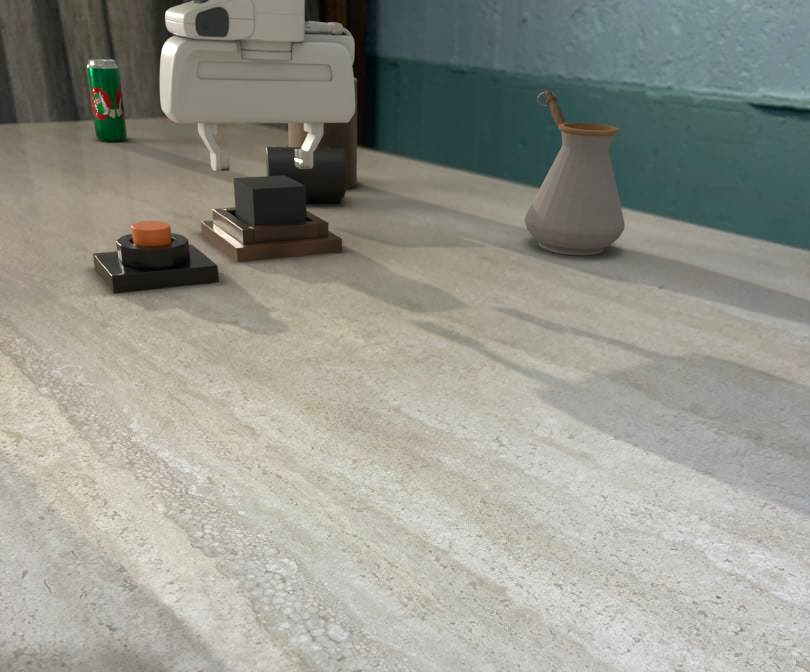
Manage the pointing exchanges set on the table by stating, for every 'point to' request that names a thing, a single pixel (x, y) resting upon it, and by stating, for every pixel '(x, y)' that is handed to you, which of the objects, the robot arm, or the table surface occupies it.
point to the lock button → (151, 233)
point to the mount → (269, 237)
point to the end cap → (312, 172)
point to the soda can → (106, 100)
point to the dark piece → (154, 265)
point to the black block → (269, 200)
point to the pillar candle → (334, 141)
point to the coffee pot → (577, 191)
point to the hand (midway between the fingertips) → (263, 169)
